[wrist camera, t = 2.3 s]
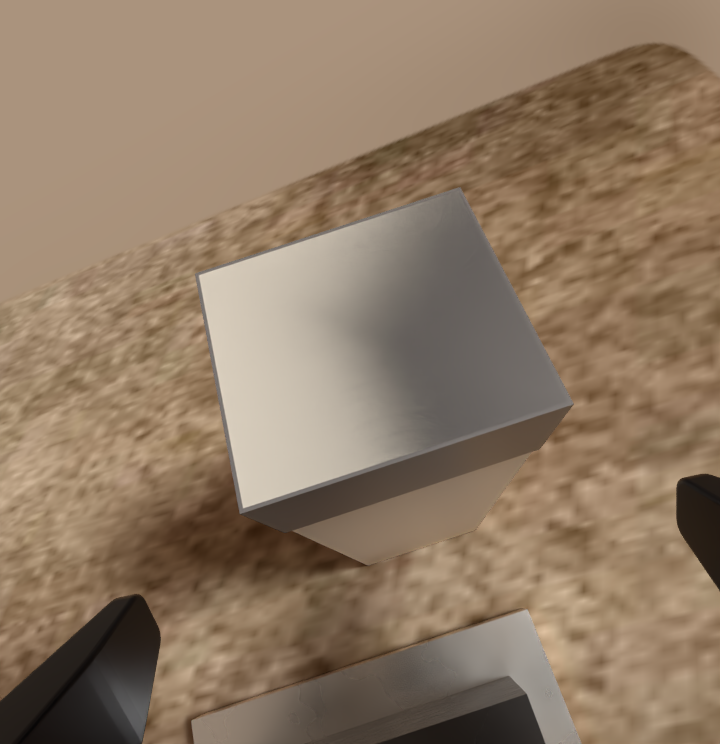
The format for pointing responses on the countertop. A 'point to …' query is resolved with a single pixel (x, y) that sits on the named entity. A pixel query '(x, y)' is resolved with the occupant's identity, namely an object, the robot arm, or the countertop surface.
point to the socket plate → (415, 697)
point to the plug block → (377, 380)
